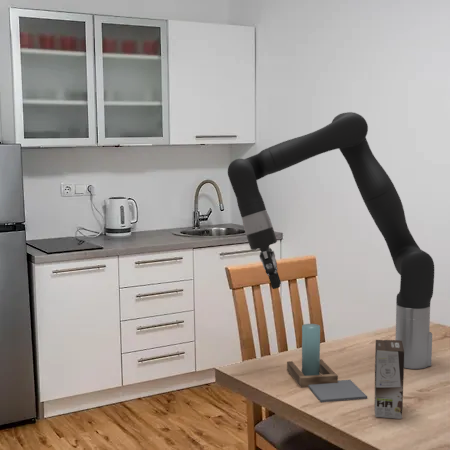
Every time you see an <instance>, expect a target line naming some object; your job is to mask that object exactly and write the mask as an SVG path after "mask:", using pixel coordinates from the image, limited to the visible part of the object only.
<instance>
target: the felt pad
mask: <svg viewBox="0 0 450 450" xmlns="http://www.w3.org/2000/svg"><path fill="white" fill-rule="evenodd" d="M307 388H309V390H310V391H311V392H312V394H314V396H315V397H316V399H318V401H319V402H320V403H326V402H327V403H328V402H329V403H330V402H341V401H343V402H344V401H354V400H355V401H356V400H366V399H368V395H367V394H366V393H365V392H364V391H362V390H361V388H359V387H358V386H357V385H356V384H355V382H353V380H351V379H341V380H339V379H338V383H326V384H312V385H308V387H307Z"/></svg>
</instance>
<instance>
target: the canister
mask: <svg viewBox="0 0 450 450" xmlns="http://www.w3.org/2000/svg"><path fill="white" fill-rule="evenodd" d="M301 326H302V327H301V372H302V373H303V374H304V376H310V375H321V373H320V359H321V325H320V324H317V323H304V324H302V325H301Z"/></svg>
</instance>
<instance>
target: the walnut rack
mask: <svg viewBox="0 0 450 450" xmlns="http://www.w3.org/2000/svg"><path fill="white" fill-rule="evenodd" d="M286 371H287V372H288V373H289V374H290V376H291V378H292V379H293V380H294V381H295V382H296V384H297V385H298V386H299V387H300V388H309V387H308V385H312V384H326V383H338V380H339V379H338V378H339V375H338V374H337V373H336V372H335V371H334V370H333V369H332V368H331V367H330V366H329V365H328V364H327V363H326V362H325V361H324V360H323V359H321V358H320V375H310V376H304V374H303V373H302V370H300V369H299V368H298V366H297V365H296V364H295V362H293V360H291V361H286Z"/></svg>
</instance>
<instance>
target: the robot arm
mask: <svg viewBox="0 0 450 450" xmlns="http://www.w3.org/2000/svg"><path fill="white" fill-rule="evenodd" d="M368 130H369V126H368V122H367V120H366V119H365V118H364V116H362V115H361V114H359V113H356V112H352V111H349V112H348V111H347V112H341V113H339V114H338V115H336V116H335V117H334V118H333V119H332V121H331V122H330V123H329V124H327V125H325V126H324V127H322V128H319V129H317V130H315V131H312V132H310V133H308V134H304V135H302V136H298V137H294V138H292V139H291V138H290V139H288V140H284V141H282V142H279V143H276V144H275V145H272V146H269V147H266V148H265V149H262V150H261V151H260V152H258V153H257V154H254V155H251V156H249V157H247V158H236V159H234V160H233V161H231V162H230V164H228V168H227V176H228V179H229V182H230V184H231V187H232V190H233V193H234V195H235V198H236V203H237V206H238V210H239V214H240V216H241V220H242V225H243V229H244V232H245V236H246V239H247V242H248V246H249V247H250V250H251V251H255V250H260V254H259V259H260V262H261V263H262V267H263V270H265V274H266V275H267V276H268V279H269V282H270V283H269V284H270V286H271V288H272V289H273V290H276V289H279V288H280V287H281V284H282V282H281V279H280V276H279V272H278V265H277V264H278V263H277V259H276V254H275V251H274V250H272V248H271V247H270V245H273V244H276V243H277V242H278V240H277V236H276V233H275V229H274V227H273V224H272V221H271V218H270V216H269V214H268V211H267V207H266V205H265V202H264V199H263V196H262V193H261V192H260V190H259V185H258V180H260V179H262V178H265V177H266V176H268V175H272V174H275V173H277V172H281V171H282V170H286V169H288V168H290V167H292V166H295V165H298V164H299V163H301V162H304V161H306V160H308V159H312V158H314V157H317V156H319V155H321V154H325V153H328V152H331V151H334V150H340V152H341V155H342V156H343V157H344V159H345V161H346V162H347V165H348V166H349V169H350V171H351V173H352V177H353V179H354V181H355V184H356V187H357V189H358V191H359V194H360V196H361V199H362V200H363V202H364V205H365V207H366V208H367V211H368V212H369V215H370V216H371V218H372V220H373V221H374V223H375V225H376V227H377V229H378V230H379V232H380V233H381V235H382V237H383V239H384V241H385V243H386V245H387V248H388V250H389V253H390V257H391V260H392V262H393V266H394V268H395V270H396V272H397V273H398V274H399V275H400V283H399V284H400V285H399V292H398V293H397V295H396V299H395V300H396V306H395V311H396V312H395V314H396V315H395V338H394V340H400V341H402V343H403V347H404V351H405V352H404V369H411V370H419V369H420V370H422V369H425V368H428V367H431V366H432V357H433V353H432V351H433V332H431V331H430V328H431V327H430V324H431V323H430V322H431V302H432V301H431V300H432V298H433V294H434V285H435V284H434V283H435V263H434V262H435V261H434V260H433V258H432V256H431V255H430V254H429V253H428V252H426V251H424V250H422V249H421V248H420V247H419V245H418V243H417V242H416V241H415V239H414V237H413V235H412V233H411V231H410V229H409V226H408V223H407V219H406V215H405V209H404V205H403V203H402V199H401V197H400V195H399V193H398V191H397V188H396V186H395V185H394V183H393V181H392V179H391V178H390V176H389V175H388V173H387V172H386V170H385V169H384V167H383V166H382V165H381V164H380V162H379V161H378V159H377V158H376V156H375V155H374V153H373V152H372V150H371V147H370V145H369V142H368V139H367V138H366V137H367V135H368Z"/></svg>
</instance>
